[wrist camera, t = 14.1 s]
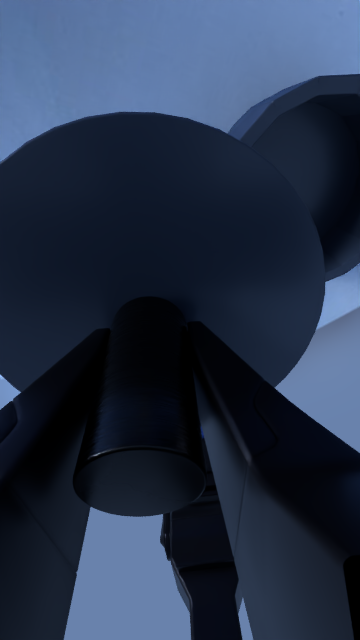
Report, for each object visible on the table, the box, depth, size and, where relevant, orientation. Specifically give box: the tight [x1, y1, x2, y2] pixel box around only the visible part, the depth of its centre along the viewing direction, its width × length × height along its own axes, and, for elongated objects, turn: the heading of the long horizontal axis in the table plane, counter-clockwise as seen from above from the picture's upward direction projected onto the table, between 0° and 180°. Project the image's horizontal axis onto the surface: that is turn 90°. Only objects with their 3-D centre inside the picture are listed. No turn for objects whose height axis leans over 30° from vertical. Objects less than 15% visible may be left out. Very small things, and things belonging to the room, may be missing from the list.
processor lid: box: [0, 112, 325, 517], centre depth 8 cm, size 11×11×6 cm
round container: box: [228, 74, 360, 282], centre depth 17 cm, size 10×10×4 cm
